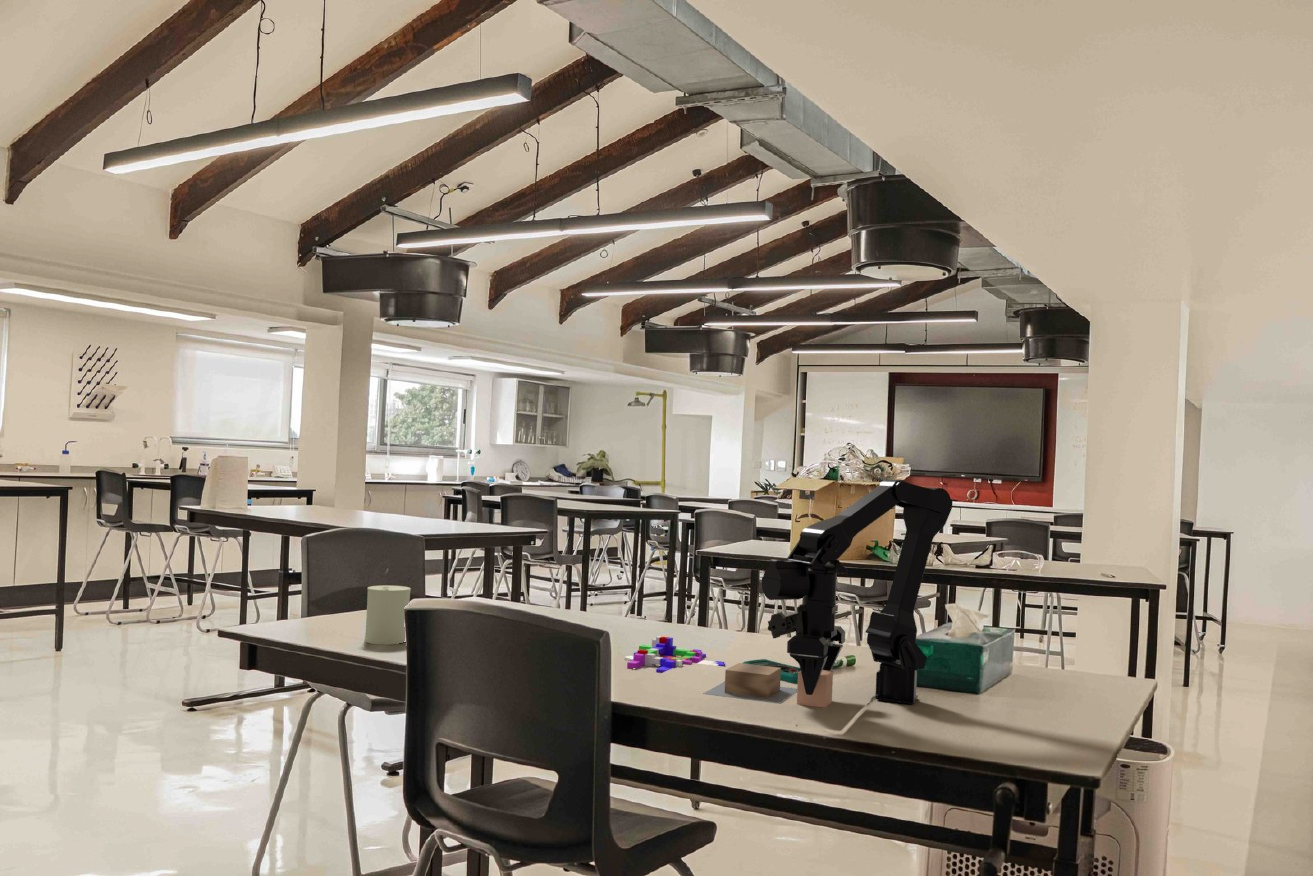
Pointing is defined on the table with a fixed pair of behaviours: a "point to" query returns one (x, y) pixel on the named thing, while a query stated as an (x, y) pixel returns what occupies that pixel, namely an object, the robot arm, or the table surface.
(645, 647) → the building block set
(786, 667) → the digital multimeter
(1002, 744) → the table surface
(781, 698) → the grey flat square plate
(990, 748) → the table surface
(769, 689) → the walnut base block
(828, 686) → the terracotta cube
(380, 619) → the can
